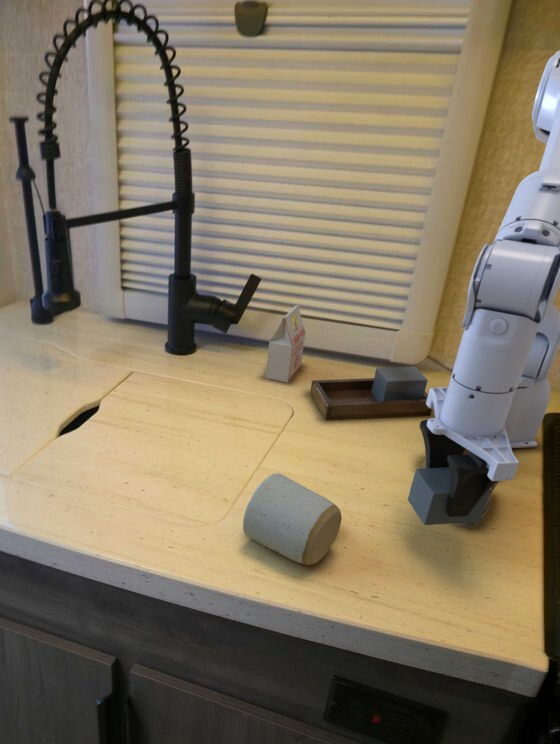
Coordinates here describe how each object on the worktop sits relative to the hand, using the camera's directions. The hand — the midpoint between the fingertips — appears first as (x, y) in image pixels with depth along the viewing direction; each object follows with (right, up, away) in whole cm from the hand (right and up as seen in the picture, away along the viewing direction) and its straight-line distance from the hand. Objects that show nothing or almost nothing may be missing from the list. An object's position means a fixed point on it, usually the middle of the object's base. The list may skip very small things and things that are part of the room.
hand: (446, 499), depth 69 cm
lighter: (+7, -1, +9) cm, 11 cm away
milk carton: (-11, +21, +38) cm, 45 cm away
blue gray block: (0, -1, +1) cm, 1 cm away
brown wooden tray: (0, +15, +29) cm, 33 cm away
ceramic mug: (-15, -5, +4) cm, 16 cm away
